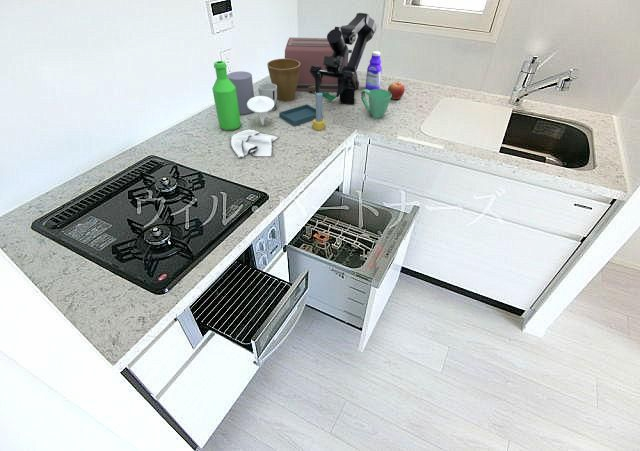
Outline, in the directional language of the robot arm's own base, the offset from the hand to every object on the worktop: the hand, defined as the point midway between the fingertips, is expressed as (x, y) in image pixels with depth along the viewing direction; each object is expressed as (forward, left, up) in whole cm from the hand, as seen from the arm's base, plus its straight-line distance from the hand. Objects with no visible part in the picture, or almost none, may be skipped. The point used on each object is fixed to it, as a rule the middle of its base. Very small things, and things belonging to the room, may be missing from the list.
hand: (326, 94), depth 137 cm
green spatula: (+4, -26, -12) cm, 29 cm away
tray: (+11, -3, -12) cm, 16 cm away
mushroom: (+26, +7, -12) cm, 29 cm away
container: (+38, -7, -12) cm, 40 cm away
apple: (-31, -32, -12) cm, 46 cm away
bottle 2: (-20, -43, -12) cm, 49 cm away
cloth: (+26, +24, -12) cm, 37 cm away
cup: (+27, -10, -12) cm, 31 cm away
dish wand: (+2, +6, -12) cm, 13 cm away
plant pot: (+22, -23, -12) cm, 34 cm away
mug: (-20, -11, -12) cm, 26 cm away
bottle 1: (+39, +10, -12) cm, 42 cm away
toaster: (+9, -44, -12) cm, 46 cm away
